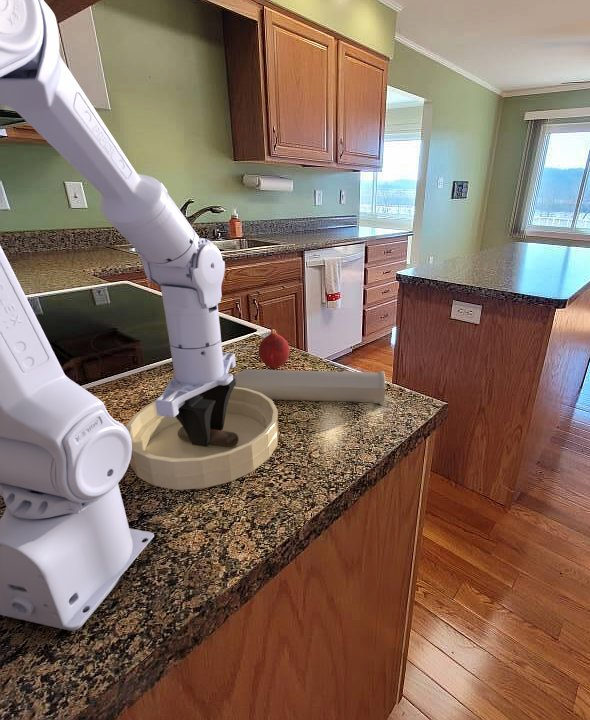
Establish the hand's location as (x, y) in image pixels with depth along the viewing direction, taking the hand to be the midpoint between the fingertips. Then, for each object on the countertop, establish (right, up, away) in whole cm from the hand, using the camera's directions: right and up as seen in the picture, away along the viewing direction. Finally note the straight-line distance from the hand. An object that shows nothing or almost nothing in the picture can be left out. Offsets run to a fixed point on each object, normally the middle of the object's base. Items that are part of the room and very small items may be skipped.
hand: (208, 436), depth 53 cm
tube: (+11, +3, +14) cm, 18 cm away
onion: (+3, +8, +25) cm, 26 cm away
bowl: (0, -1, +1) cm, 2 cm away
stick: (0, -1, 0) cm, 1 cm away
